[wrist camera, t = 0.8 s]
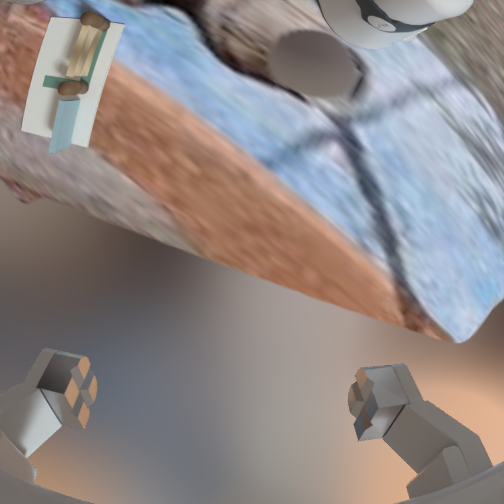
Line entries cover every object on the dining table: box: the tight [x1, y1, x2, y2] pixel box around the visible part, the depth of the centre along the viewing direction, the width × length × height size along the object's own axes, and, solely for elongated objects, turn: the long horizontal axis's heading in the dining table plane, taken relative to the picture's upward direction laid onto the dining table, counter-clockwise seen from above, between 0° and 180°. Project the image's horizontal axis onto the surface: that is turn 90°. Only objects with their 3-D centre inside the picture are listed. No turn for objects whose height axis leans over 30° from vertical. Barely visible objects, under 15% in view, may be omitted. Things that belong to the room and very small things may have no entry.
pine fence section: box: [58, 11, 110, 96], centre depth 36 cm, size 13×2×7 cm, turn 159°
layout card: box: [21, 17, 125, 147], centre depth 40 cm, size 21×15×1 cm
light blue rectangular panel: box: [49, 99, 80, 154], centre depth 40 cm, size 8×1×5 cm, turn 159°
